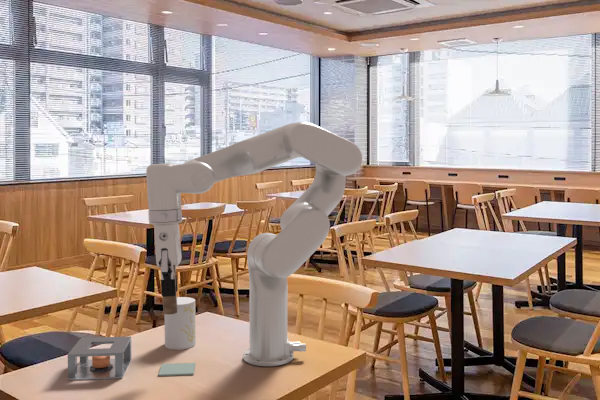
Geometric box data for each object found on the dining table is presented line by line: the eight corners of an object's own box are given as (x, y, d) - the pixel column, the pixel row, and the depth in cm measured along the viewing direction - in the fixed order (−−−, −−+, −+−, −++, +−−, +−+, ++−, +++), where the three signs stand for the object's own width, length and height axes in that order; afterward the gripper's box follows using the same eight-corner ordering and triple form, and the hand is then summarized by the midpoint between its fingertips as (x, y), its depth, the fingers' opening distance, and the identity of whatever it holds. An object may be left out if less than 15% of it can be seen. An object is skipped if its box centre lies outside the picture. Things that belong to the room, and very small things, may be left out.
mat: (195, 364, 146) (195, 362, 146) (193, 374, 139) (193, 373, 139) (162, 365, 145) (162, 363, 145) (158, 376, 138) (158, 374, 138)
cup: (188, 350, 156) (188, 305, 155) (159, 348, 157) (159, 303, 156) (200, 340, 163) (199, 297, 162) (172, 338, 165) (171, 296, 164)
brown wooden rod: (178, 310, 143) (175, 256, 141) (176, 314, 139) (173, 259, 138) (164, 311, 142) (161, 257, 141) (162, 314, 139) (159, 260, 138)
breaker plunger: (111, 361, 144) (111, 353, 144) (108, 367, 140) (107, 358, 140) (94, 362, 143) (94, 353, 143) (90, 368, 139) (90, 359, 139)
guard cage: (131, 360, 148) (131, 336, 148) (122, 378, 136) (122, 352, 136) (81, 361, 147) (81, 337, 146) (68, 380, 135) (67, 354, 135)
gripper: (178, 220, 131) (182, 302, 133) (185, 211, 147) (189, 284, 149) (143, 221, 130) (148, 304, 132) (154, 213, 146) (158, 286, 148)
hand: (169, 293), depth 140 cm, fingers closed on brown wooden rod, 3 cm apart
